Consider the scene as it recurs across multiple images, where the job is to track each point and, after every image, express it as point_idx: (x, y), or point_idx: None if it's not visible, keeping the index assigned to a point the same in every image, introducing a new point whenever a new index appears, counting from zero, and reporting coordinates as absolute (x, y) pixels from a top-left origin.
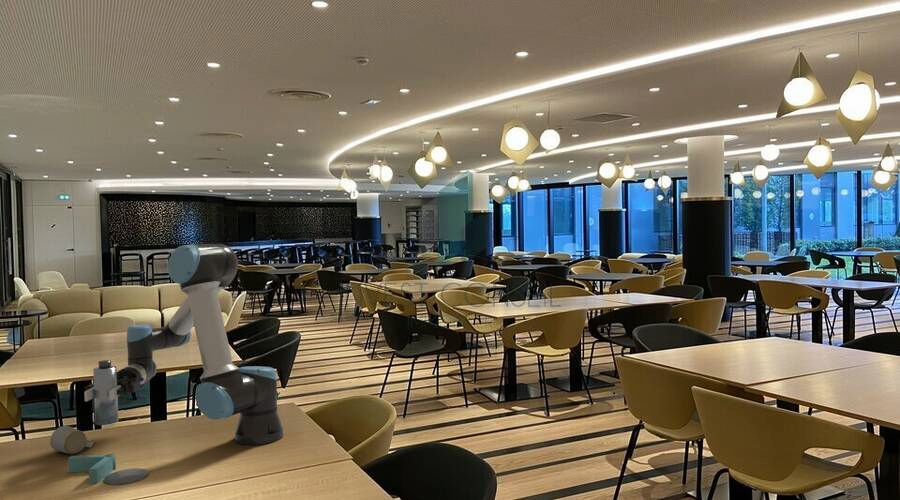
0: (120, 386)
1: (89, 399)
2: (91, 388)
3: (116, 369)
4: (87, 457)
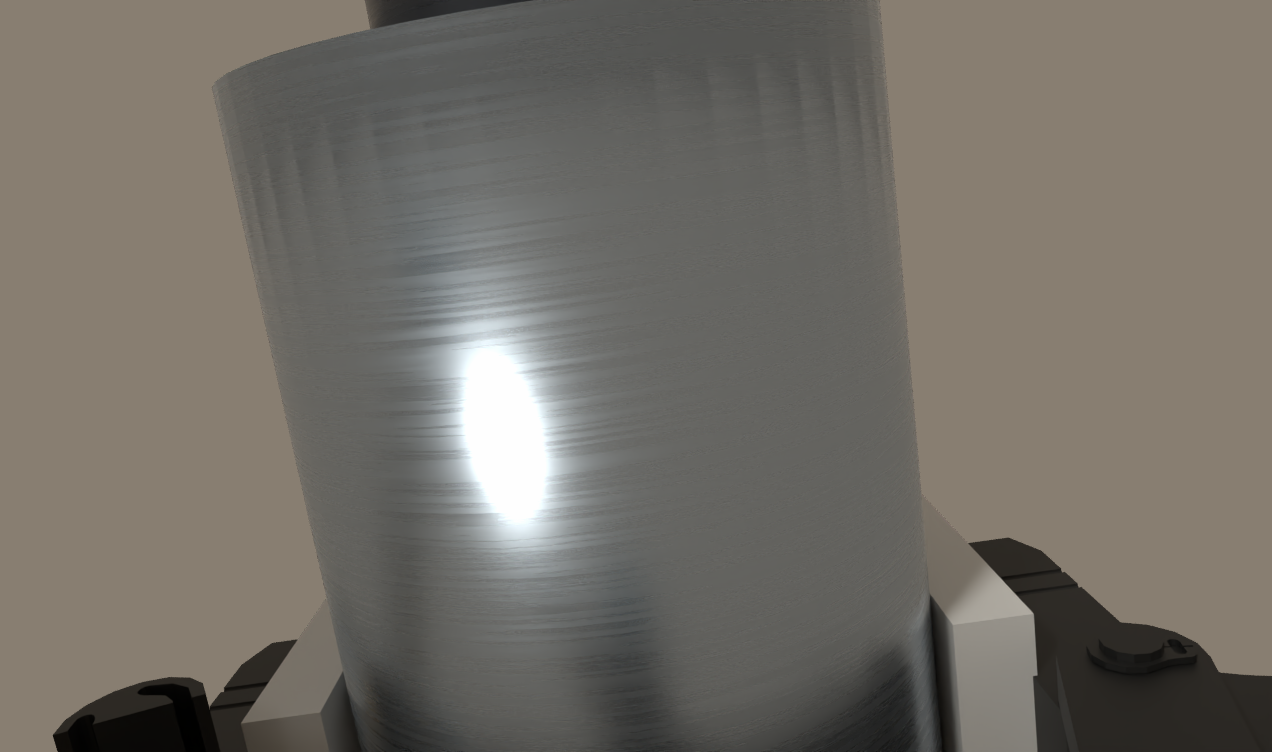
0: (257, 726)
1: None
2: (931, 523)
3: (234, 181)
4: None
